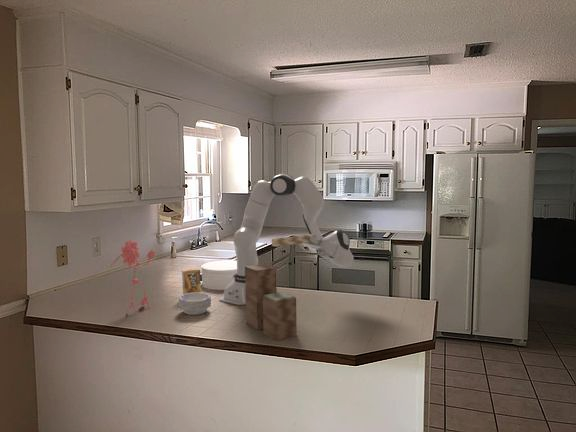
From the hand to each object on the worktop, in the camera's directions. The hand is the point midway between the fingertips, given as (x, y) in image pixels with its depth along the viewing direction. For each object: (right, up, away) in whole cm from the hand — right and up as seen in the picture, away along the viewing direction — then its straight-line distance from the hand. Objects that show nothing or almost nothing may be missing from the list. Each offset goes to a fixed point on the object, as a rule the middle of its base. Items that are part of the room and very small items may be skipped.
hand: (306, 237), depth 220 cm
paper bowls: (-53, -37, +9) cm, 66 cm away
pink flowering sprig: (-85, -37, +14) cm, 94 cm away
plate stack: (-46, -31, +63) cm, 83 cm away
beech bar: (-6, -3, -4) cm, 7 cm away
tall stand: (-20, -38, -10) cm, 44 cm away
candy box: (-60, -34, +33) cm, 76 cm away
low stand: (-12, -39, -22) cm, 47 cm away
